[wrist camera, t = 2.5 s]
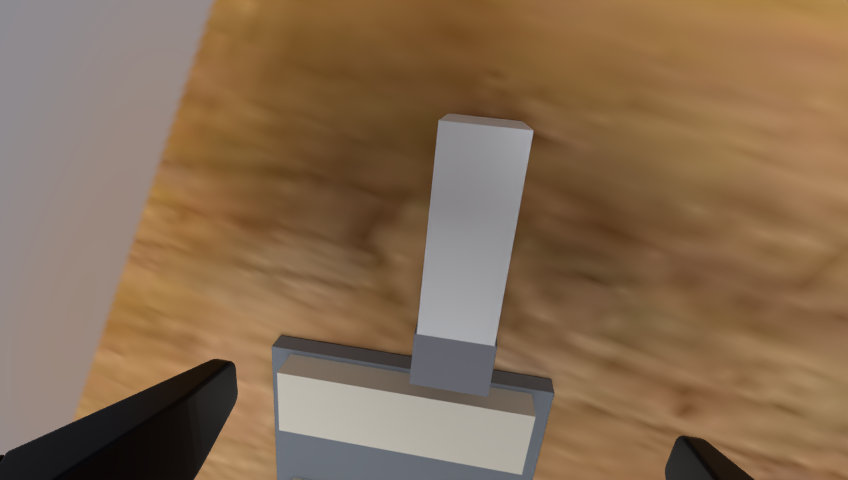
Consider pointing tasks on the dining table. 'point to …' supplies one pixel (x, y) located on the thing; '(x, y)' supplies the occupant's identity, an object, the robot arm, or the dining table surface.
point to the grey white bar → (468, 250)
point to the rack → (398, 419)
